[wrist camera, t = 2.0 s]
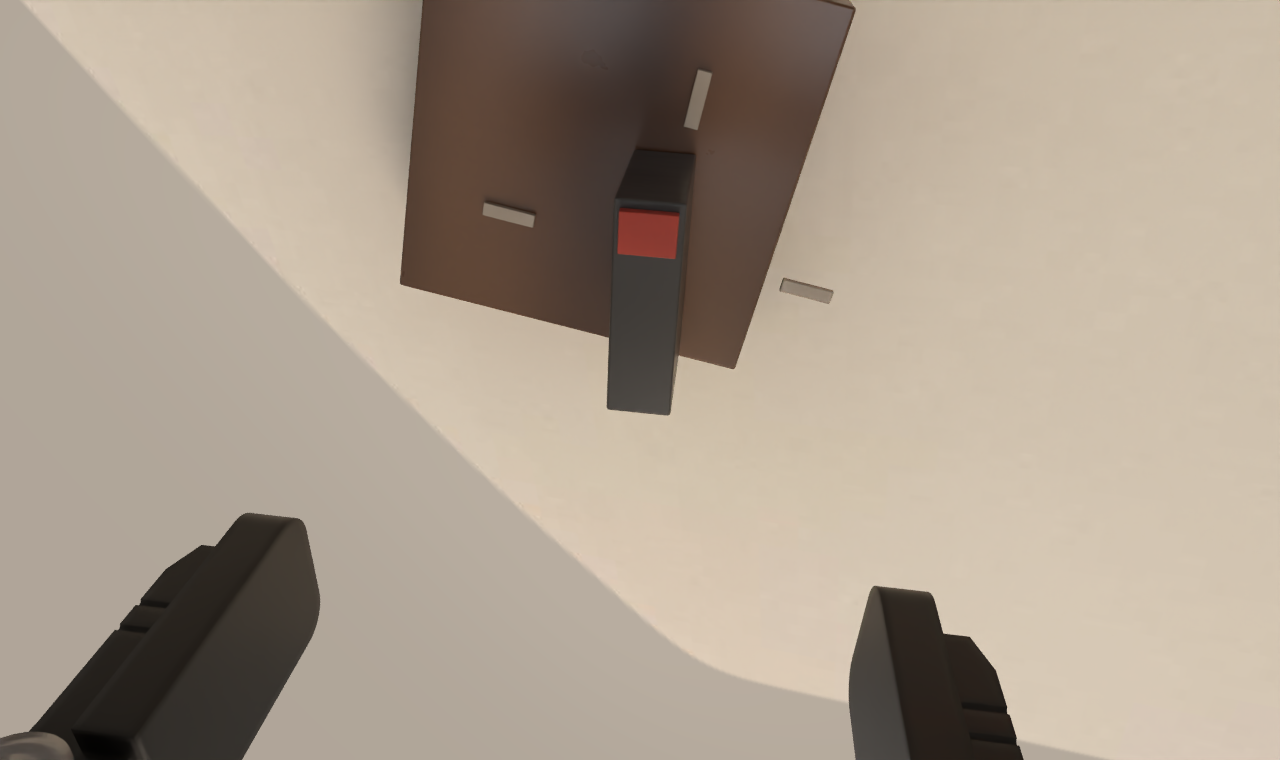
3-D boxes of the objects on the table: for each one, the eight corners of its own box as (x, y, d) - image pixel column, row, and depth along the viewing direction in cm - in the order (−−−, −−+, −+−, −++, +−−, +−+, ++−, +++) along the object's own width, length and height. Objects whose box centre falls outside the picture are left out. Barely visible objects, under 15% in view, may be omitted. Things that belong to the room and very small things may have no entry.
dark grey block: (680, 344, 24) (669, 422, 21) (625, 339, 24) (604, 415, 21) (696, 153, 21) (686, 207, 18) (634, 148, 21) (611, 201, 18)
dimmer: (426, 296, 28) (392, 342, 25) (468, -108, 22) (428, -106, 19) (773, 384, 28) (776, 439, 25) (912, 10, 22) (936, 29, 19)
